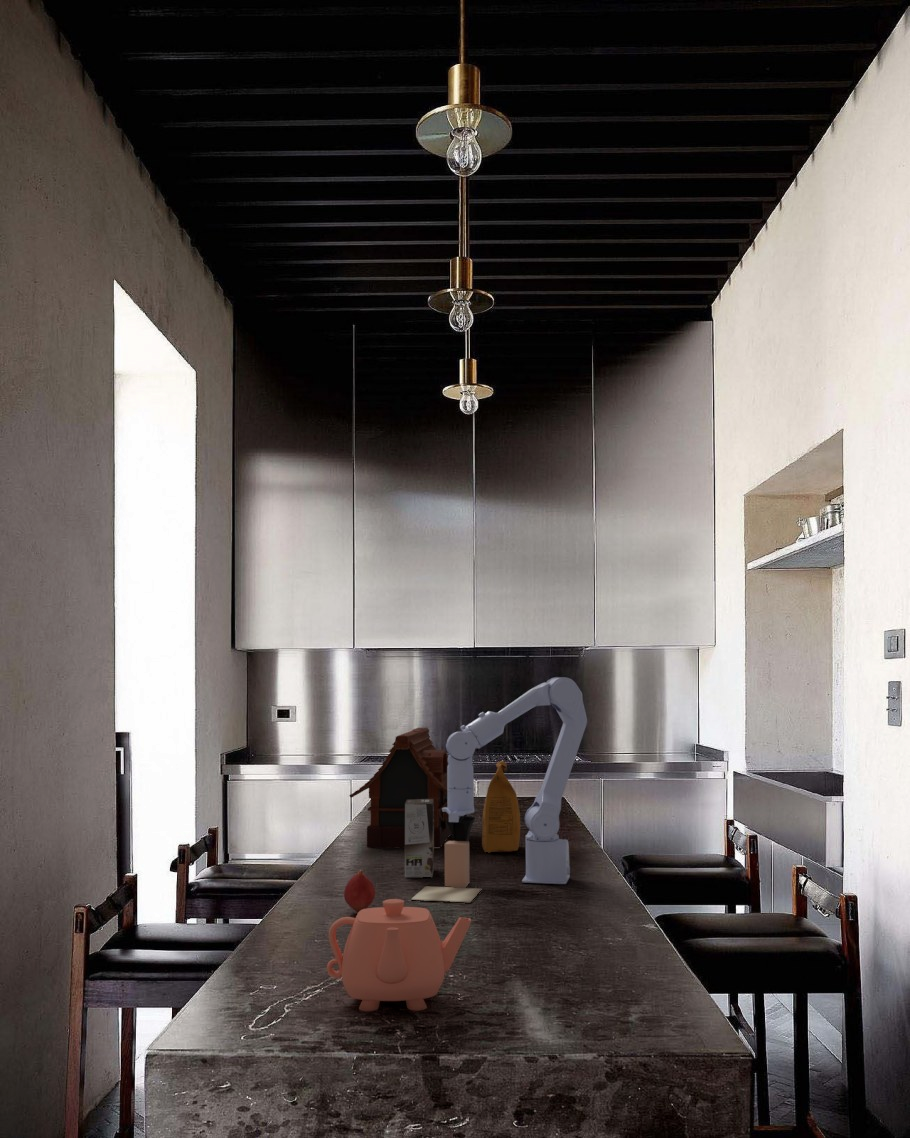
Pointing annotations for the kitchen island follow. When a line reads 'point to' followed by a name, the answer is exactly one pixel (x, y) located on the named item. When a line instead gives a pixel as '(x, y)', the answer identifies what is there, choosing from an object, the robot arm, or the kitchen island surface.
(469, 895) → the birch board
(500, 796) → the coffee package
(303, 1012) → the kitchen island surface
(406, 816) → the coffee box
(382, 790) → the house
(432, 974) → the teapot
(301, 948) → the kitchen island surface
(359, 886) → the onion
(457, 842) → the tall block
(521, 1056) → the kitchen island surface
